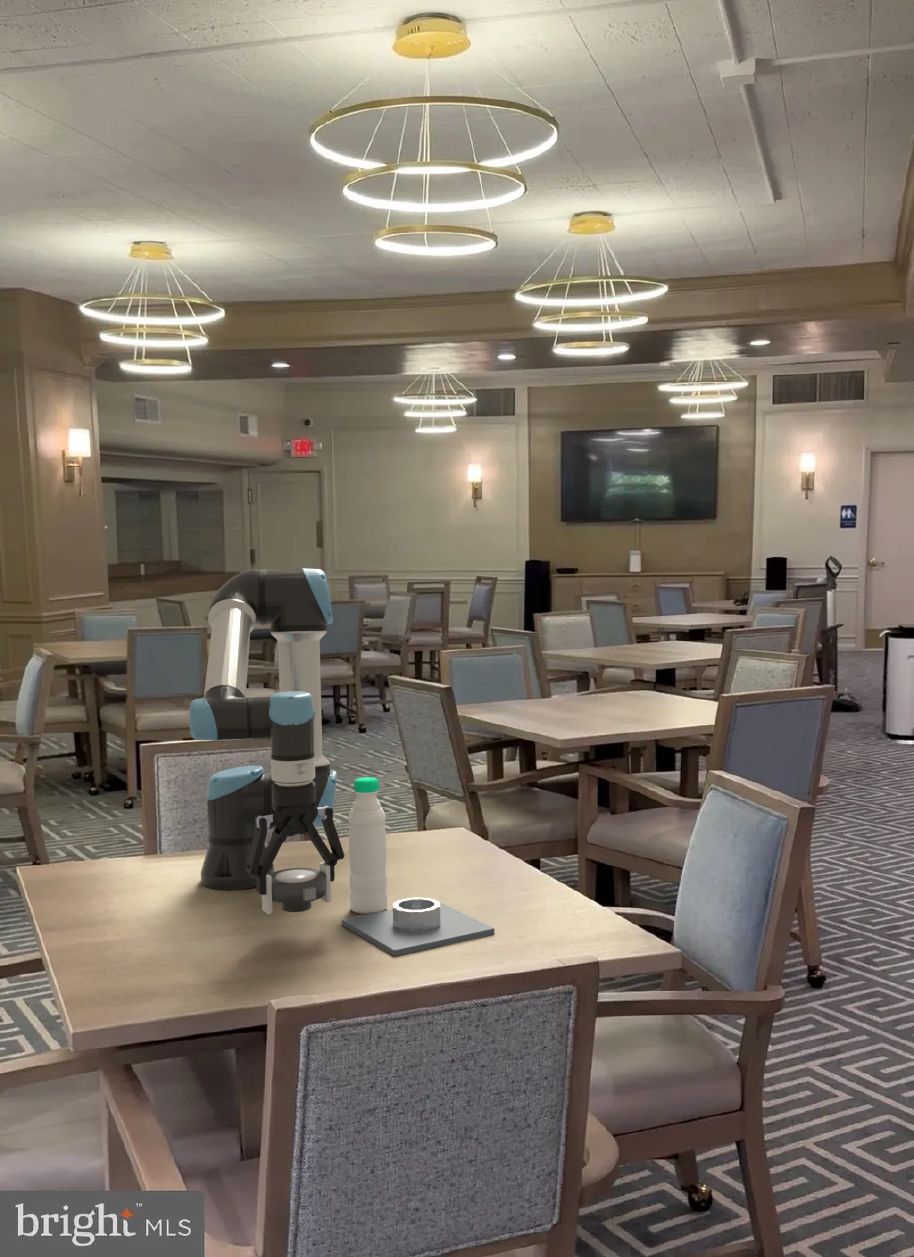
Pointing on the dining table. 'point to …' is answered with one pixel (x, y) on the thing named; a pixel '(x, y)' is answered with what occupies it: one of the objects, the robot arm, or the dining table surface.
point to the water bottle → (367, 849)
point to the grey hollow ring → (416, 914)
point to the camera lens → (297, 888)
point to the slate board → (403, 942)
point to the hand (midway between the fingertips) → (296, 906)
